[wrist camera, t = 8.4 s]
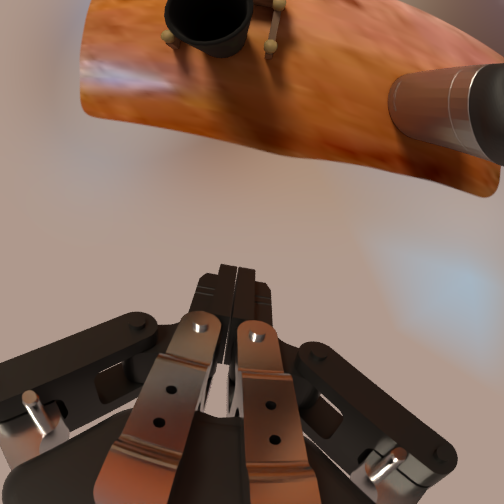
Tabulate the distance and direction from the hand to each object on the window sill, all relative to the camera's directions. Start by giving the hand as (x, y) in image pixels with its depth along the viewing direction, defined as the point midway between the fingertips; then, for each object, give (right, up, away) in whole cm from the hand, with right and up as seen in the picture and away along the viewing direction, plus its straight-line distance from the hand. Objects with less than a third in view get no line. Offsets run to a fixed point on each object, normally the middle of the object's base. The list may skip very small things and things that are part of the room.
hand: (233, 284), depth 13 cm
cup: (-3, +27, +17) cm, 32 cm away
